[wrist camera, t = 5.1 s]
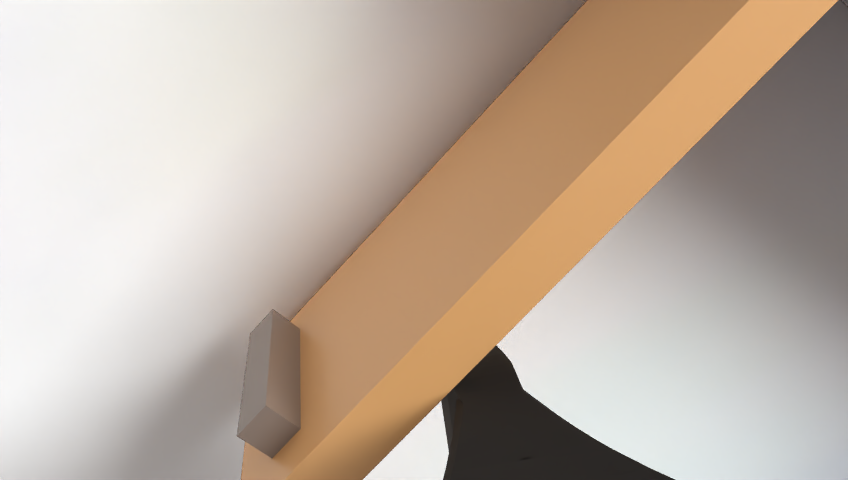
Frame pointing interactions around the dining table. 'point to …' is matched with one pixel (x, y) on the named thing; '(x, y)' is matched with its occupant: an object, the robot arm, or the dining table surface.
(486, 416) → the robot arm
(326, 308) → the door
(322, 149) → the dining table surface
